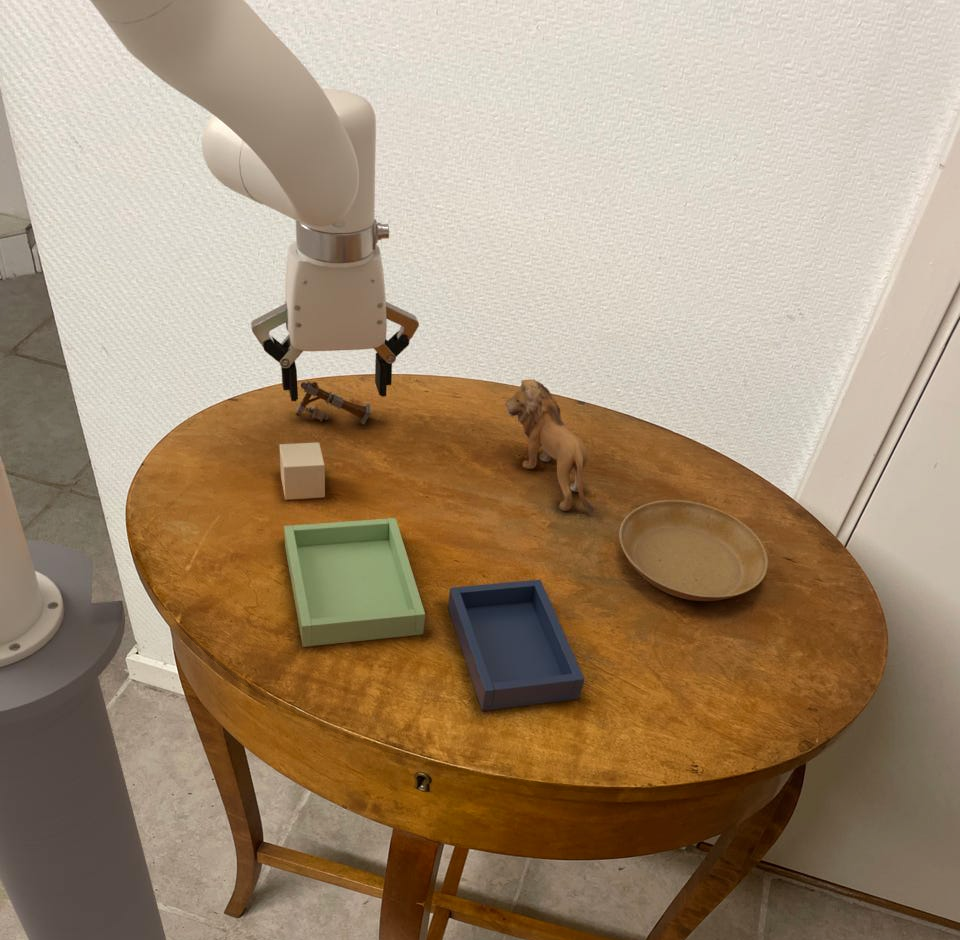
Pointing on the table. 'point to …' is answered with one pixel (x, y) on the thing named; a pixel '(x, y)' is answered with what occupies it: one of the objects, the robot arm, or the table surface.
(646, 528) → the plant saucer
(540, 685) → the slate tray
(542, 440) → the lion figurine
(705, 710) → the table surface
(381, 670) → the table surface
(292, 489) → the cream block
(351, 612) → the sage tray
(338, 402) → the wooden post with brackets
